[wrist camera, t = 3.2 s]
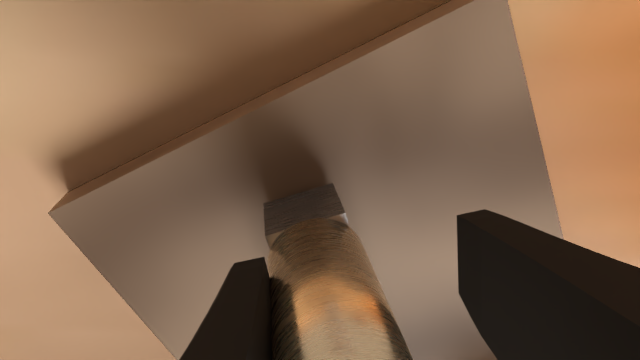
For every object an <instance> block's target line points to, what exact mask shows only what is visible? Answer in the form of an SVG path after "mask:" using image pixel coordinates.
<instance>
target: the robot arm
mask: <svg viewBox="0 0 640 360" xmlns="http://www.w3.org/2000/svg"><path fill="white" fill-rule="evenodd" d="M457 252H458V292H459V295H460V297H461V299H462V301H463V303H464V305H465V307H466V309H467V311H468V313H469V315H470V317H471V318H472V320H473V322H474V324H475V326H476V328H477V329H478V331H479V333H480V335H481V336H482V338H483V339H484V341H485V342H486V344H487V345H488V347H489V348H490V350H491V351H492V353H493V354H494V355H495V357H496V358H497V360H640V268H638V267H635V266H632V265H630V264H627V263H624V262H621V261H618V260H615V259H613V258H610V257H607V256H605V255H602V254H599V253H596V252H594V251H591V250H589V249H586V248H583V247H581V246H578V245H576V244H573V243H571V242H568V241H566V240H563V239H561V238H558V237H556V236H553V235H551V234H548V233H546V232H543V231H541V230H538V229H536V228H533V227H531V226H528V225H526V224H524V223H521V222H519V221H516V220H513V219H511V218H508V217H506V216H503V215H500V214H498V213H495V212H492V211H489V210H485V209H483V210H479V211H474V212H469V213H465V214H460V215H457ZM179 360H272V307H271V290H270V277H269V273H268V269H267V265H266V261H265V257H260V258H255V259H251V260H246V261H241V262H237V263H234V264H233V266H232V267H231V269H230V270H229V272H228V274H227V276H226V278H225V280H224V282H223V284H222V286H221V288H220V290H219V292H218V294H217V296H216V298H215V300H214V301H213V303H212V305H211V307H210V309H209V311H208V313H207V314H206V316H205V318H204V319H203V321H202V323H201V325H200V326H199V328H198V330H197V331H196V333H195V335H194V337H193V338H192V340H191V342H190V343H189V345H188V347H187V348H186V350H185V351H184V353H183V355H182V356H181V358H180V359H179Z"/></svg>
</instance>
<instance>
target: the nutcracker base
mask: <svg viewBox="0 0 640 360" xmlns="http://www.w3.org/2000/svg"><path fill="white" fill-rule="evenodd" d="M331 183H333V184H334V187H335V189H336V191H337V194H338V196H339V198H340V201H341V203H342V206H343V208H344V210H345V213H346V216H347V220H348V224H349V227H350V228H351V229H352V230H353V231H354V232H355V233H356V234H357V235H358V237H359V238H360V240H361V242H362V244H363V246H364V248H365V251H366V253H367V255H368V258H369V260H370V262H371V264H372V267H373V269H374V271H375V274H376V276H377V278H378V280H379V283H380V285H381V287H382V289H383V292H384V294H385V296H386V299H387V301H388V303H389V305H390V308H391V310H392V312H393V314H394V317H395V319H396V321H397V324H398V326H399V328H400V330H401V333H402V335H403V337H404V340H405V342H406V344H407V346H408V349H409V351H410V353H411V355H412V358H413V360H497V358H496V357H495V355H494V354H493V353H492V351H491V350H490V348H489V347H488V345H487V344H486V342H485V341H484V339H483V338H482V336H481V335H480V333H479V331H478V329H477V328H476V326H475V324H474V322H473V320H472V318H471V317H470V315H469V313H468V311H467V309H466V307H465V305H464V303H463V301H462V299H461V297H460V295H459V292H458V252H457V215H460V214H465V213H469V212H474V211H479V210H483V209H485V210H489V211H492V212H495V213H498V214H500V215H503V216H506V217H508V218H511V219H513V220H516V221H519V222H521V223H524V224H526V225H528V226H531V227H533V228H536V229H538V230H541V231H543V232H546V233H548V234H551V235H553V236H556V237H558V238H561V239H563V240H564V238H563V234H562V230H561V226H560V221H559V217H558V213H557V209H556V204H555V200H554V196H553V192H552V187H551V183H550V179H549V175H548V170H547V166H546V162H545V158H544V153H543V149H542V145H541V141H540V137H539V132H538V128H537V124H536V120H535V115H534V111H533V107H532V103H531V98H530V94H529V90H528V86H527V81H526V77H525V73H524V69H523V64H522V60H521V56H520V52H519V47H518V43H517V39H516V35H515V30H514V26H513V22H512V18H511V13H510V9H509V5H508V1H507V0H451V1H449V2H447V3H445V4H443V5H441V6H439V7H437V8H435V9H433V10H431V11H429V12H427V13H425V14H423V15H421V16H419V17H417V18H415V19H413V20H411V21H409V22H407V23H405V24H403V25H401V26H399V27H397V28H395V29H393V30H391V31H389V32H387V33H385V34H383V35H381V36H379V37H377V38H375V39H373V40H371V41H369V42H367V43H365V44H363V45H361V46H359V47H357V48H355V49H353V50H351V51H349V52H347V53H345V54H343V55H341V56H339V57H337V58H335V59H333V60H331V61H329V62H327V63H325V64H323V65H321V66H319V67H317V68H315V69H313V70H311V71H309V72H307V73H305V74H303V75H301V76H299V77H297V78H295V79H293V80H291V81H289V82H287V83H285V84H283V85H281V86H279V87H277V88H275V89H273V90H271V91H269V92H267V93H265V94H263V95H261V96H259V97H257V98H255V99H253V100H251V101H249V102H247V103H245V104H243V105H241V106H239V107H237V108H235V109H233V110H231V111H229V112H227V113H225V114H223V115H221V116H219V117H217V118H215V119H213V120H211V121H209V122H207V123H205V124H203V125H201V126H199V127H197V128H195V129H193V130H191V131H189V132H187V133H185V134H183V135H181V136H179V137H177V138H175V139H173V140H171V141H169V142H167V143H165V144H163V145H161V146H159V147H157V148H155V149H153V150H151V151H149V152H147V153H145V154H143V155H141V156H140V157H138V158H136V159H134V160H132V161H130V162H128V163H126V164H124V165H122V166H120V167H118V168H116V169H114V170H112V171H110V172H108V173H106V174H104V175H102V176H100V177H98V178H96V179H94V180H92V181H90V182H88V183H86V184H84V185H82V186H80V187H78V188H76V189H74V190H72V191H70V192H68V193H67V194H66V195H65V196H64V197H63V198H62V199H61V200H60V201H59V202H58V203H57V204H56V205H55V206H54V207H53V208H52V210H51V211H50V212H49V213H48V214H49V215H50V216H51V217H52V218H53V219H54V221H55V222H56V223H57V224H58V225H59V226H60V227H61V229H62V230H63V231H64V232H65V233H66V234H67V235H68V237H69V238H70V239H71V240H72V241H73V242H74V243H75V245H76V246H77V247H78V248H79V249H80V250H81V251H82V252H83V254H84V255H85V256H86V257H87V258H88V259H89V260H90V262H91V263H92V264H93V265H94V266H95V267H96V268H97V270H98V271H99V272H100V273H101V274H102V275H103V276H104V278H105V279H106V280H107V281H108V282H109V283H110V284H111V286H112V287H113V288H114V289H115V290H116V291H117V292H118V293H119V295H120V296H121V297H122V298H123V299H124V300H125V301H126V303H127V304H128V305H129V306H130V307H131V308H132V309H133V311H134V312H135V313H136V314H137V315H138V316H139V317H140V319H141V320H142V321H143V322H144V323H145V324H146V325H147V326H148V328H149V329H150V330H151V331H152V332H153V333H154V334H155V336H156V337H157V338H158V339H159V340H160V341H161V342H162V344H163V345H164V346H165V347H166V348H167V349H168V350H169V352H170V353H171V354H172V355H173V356H174V357H175V358H176V360H179V359H180V358H181V356H182V355H183V353H184V351H185V350H186V348H187V347H188V345H189V343H190V342H191V340H192V338H193V337H194V335H195V333H196V331H197V330H198V328H199V326H200V325H201V323H202V321H203V319H204V318H205V316H206V314H207V313H208V311H209V309H210V307H211V305H212V303H213V301H214V300H215V298H216V296H217V294H218V292H219V290H220V288H221V286H222V284H223V282H224V280H225V278H226V276H227V274H228V272H229V270H230V269H231V267H232V266H233V264H234V263H237V262H241V261H246V260H251V259H255V258H260V257H265V261H266V265H267V262H268V255H269V252H270V249H269V246H268V243H267V241H266V238H265V226H264V205H263V203H266V202H269V201H273V200H276V199H280V198H283V197H286V196H290V195H293V194H297V193H300V192H304V191H307V190H311V189H314V188H318V187H321V186H325V185H328V184H331ZM267 269H268V267H267Z"/></svg>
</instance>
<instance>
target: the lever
mask: <svg viewBox="0 0 640 360" xmlns="http://www.w3.org/2000/svg"><path fill="white" fill-rule="evenodd" d="M263 205H264V226H265V238H266V241H267V243H268V246H269V249H270V252H269V255H268V262H267V267H268V273H269V277H270V290H271V307H272V360H413V358H412V355H411V353H410V351H409V349H408V346H407V344H406V342H405V340H404V337H403V335H402V333H401V330H400V328H399V326H398V324H397V321H396V319H395V317H394V314H393V312H392V310H391V308H390V305H389V303H388V301H387V299H386V296H385V294H384V292H383V289H382V287H381V285H380V283H379V280H378V278H377V276H376V274H375V271H374V269H373V267H372V264H371V262H370V260H369V258H368V255H367V253H366V251H365V248H364V246H363V244H362V242H361V240H360V238H359V237H358V235H357V234H356V233H355V232H354V231H353V230H352V229H351V228H350V227H349V224H348V220H347V216H346V213H345V210H344V208H343V206H342V203H341V201H340V198H339V196H338V194H337V191H336V189H335V187H334V184H333V183H331V184H328V185H325V186H321V187H318V188H314V189H311V190H307V191H304V192H300V193H297V194H293V195H290V196H286V197H283V198H280V199H276V200H273V201H269V202H266V203H263Z"/></svg>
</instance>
